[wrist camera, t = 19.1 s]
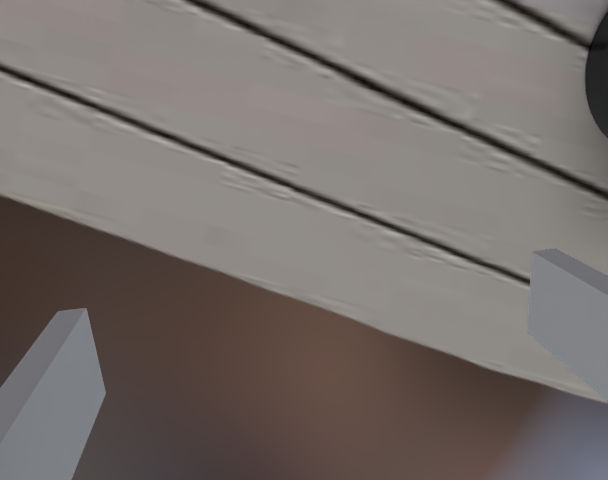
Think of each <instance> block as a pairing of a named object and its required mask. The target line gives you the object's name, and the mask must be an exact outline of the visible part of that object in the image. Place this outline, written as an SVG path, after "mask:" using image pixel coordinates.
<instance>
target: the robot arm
mask: <svg viewBox="0 0 608 480" xmlns="http://www.w3.org/2000/svg"><path fill="white" fill-rule="evenodd" d="M586 92H587V99H588V103H589V107H590V110H591V113H592V115H593V118H594V120H595V122H596V124H597V125H598V127H599V128H600V130H601V131H602V132H603V134H604V135H605V136H606V137H607V138H608V14H607V15H606V17H605V19H604V20H603V22H602V24H601V25H600V27H599V29H598V31H597V34H596V36H595V38H594V41H593V44H592V47H591V50H590V54H589V58H588V63H587V70H586ZM528 334H529V335H530V336H532V337H533V338H534V339H535V340H536V341H537V342H539V343H540V344H541V345H542V346H543V347H544V348H545V349H547V350H548V351H549V352H550V353H551V354H552V355H554V356H555V357H556V358H557V359H558V360H559V361H561V362H562V363H563V364H564V365H565V366H566V367H568V368H569V369H570V370H571V371H572V372H573V373H575V374H576V375H577V376H578V377H579V378H580V379H582V380H583V381H584V382H585V383H586V384H587V385H589V386H590V387H591V388H592V389H593V390H594V391H596V392H597V393H598V394H599V395H600V396H601V397H603V398H604V399H605V400H606V401H607V402H608V276H607V275H605V274H603V273H601V272H599V271H597V270H595V269H593V268H592V267H590V266H588V265H586V264H584V263H582V262H580V261H578V260H576V259H574V258H572V257H571V256H569V255H567V254H565V253H563V252H561V251H559V250H557V249H549V250H541V251H533V252H532V258H531V277H530V296H529V314H528ZM105 394H106V393H105V388H104V383H103V379H102V375H101V370H100V366H99V362H98V357H97V353H96V348H95V344H94V340H93V336H92V331H91V326H90V322H89V318H88V313H87V310H86V308H81V309H73V310H66V311H58V312H57V313H56V315H55V316H54V317H53V319H52V320H51V321H50V323H49V324H48V325H47V327H46V328H45V329H44V331H43V332H42V333H41V335H40V336H39V337H38V339H37V340H36V342H35V343H34V344H33V346H32V347H31V348H30V349H29V351H28V352H27V353H26V355H25V356H24V357H23V359H22V360H21V361H20V363H19V364H18V365H17V367H16V368H15V369H14V371H13V372H12V374H11V375H10V376H9V377H8V379H7V380H6V381H5V383H4V384H3V385H2V387H1V388H0V480H71V479H72V476H73V474H74V471H75V469H76V466H77V463H78V461H79V459H80V456H81V453H82V451H83V449H84V446H85V444H86V441H87V439H88V436H89V434H90V431H91V429H92V426H93V424H94V421H95V419H96V416H97V414H98V411H99V409H100V406H101V404H102V401H103V399H104V396H105Z"/></svg>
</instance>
